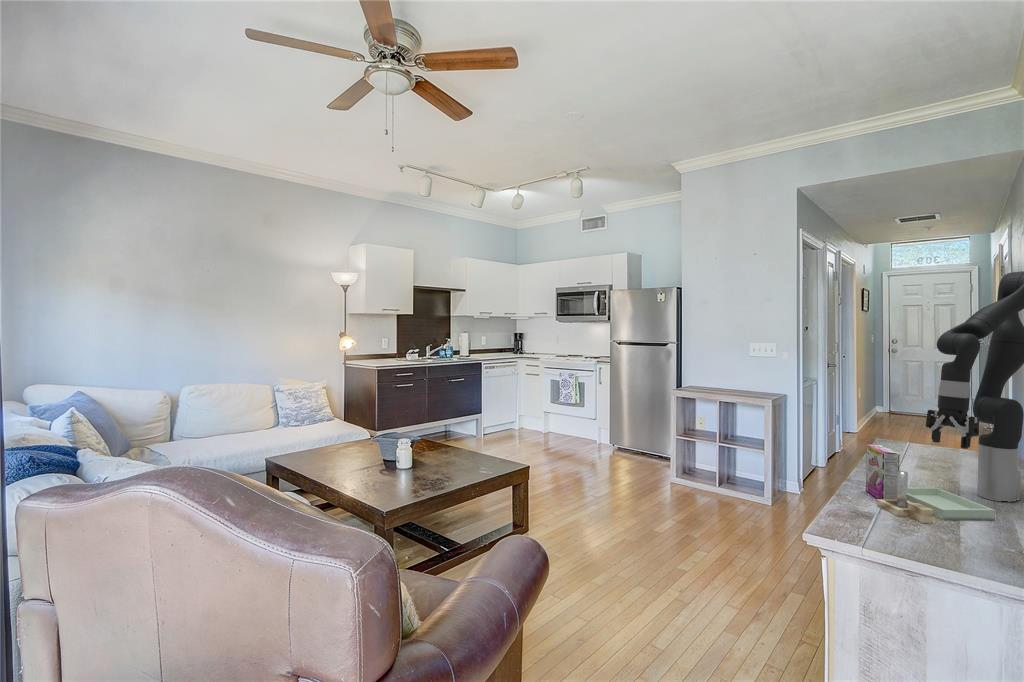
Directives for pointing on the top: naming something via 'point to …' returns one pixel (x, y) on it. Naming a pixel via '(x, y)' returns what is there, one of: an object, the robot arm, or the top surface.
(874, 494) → the candy bar box
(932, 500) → the tray
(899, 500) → the steel post
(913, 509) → the wooden frame with handle
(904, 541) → the top surface
